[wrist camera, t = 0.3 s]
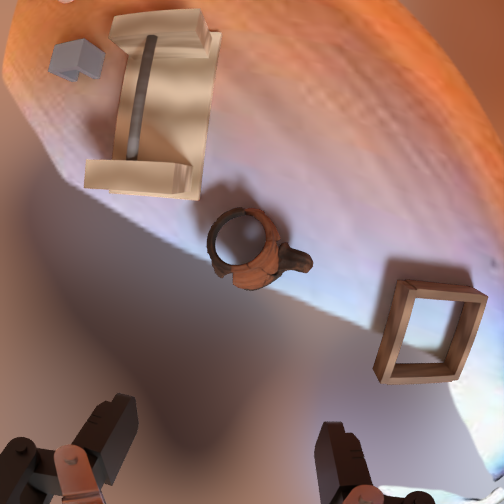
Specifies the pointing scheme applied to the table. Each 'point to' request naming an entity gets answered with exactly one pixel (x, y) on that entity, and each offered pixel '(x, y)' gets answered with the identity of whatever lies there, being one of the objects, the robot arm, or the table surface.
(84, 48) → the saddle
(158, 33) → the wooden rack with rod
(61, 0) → the drinking glass
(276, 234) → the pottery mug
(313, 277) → the table surface
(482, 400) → the table surface
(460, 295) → the open wooden frame
